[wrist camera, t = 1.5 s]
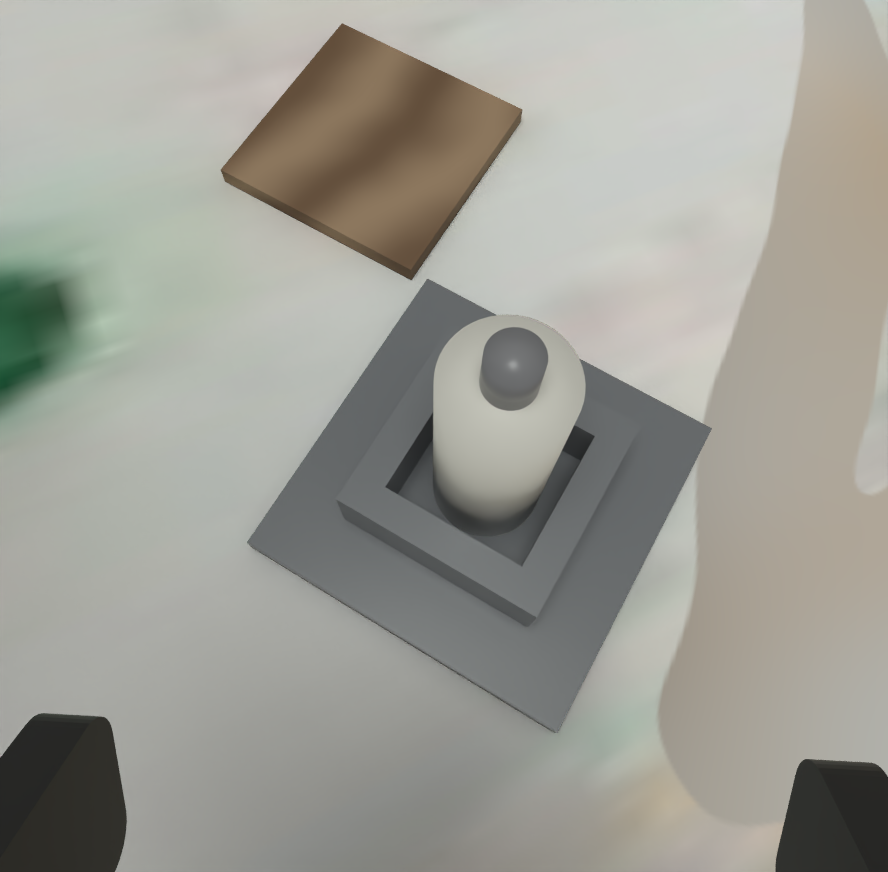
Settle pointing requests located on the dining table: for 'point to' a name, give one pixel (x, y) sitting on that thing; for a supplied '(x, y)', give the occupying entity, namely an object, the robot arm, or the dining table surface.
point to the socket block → (471, 556)
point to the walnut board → (373, 149)
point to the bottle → (501, 419)
